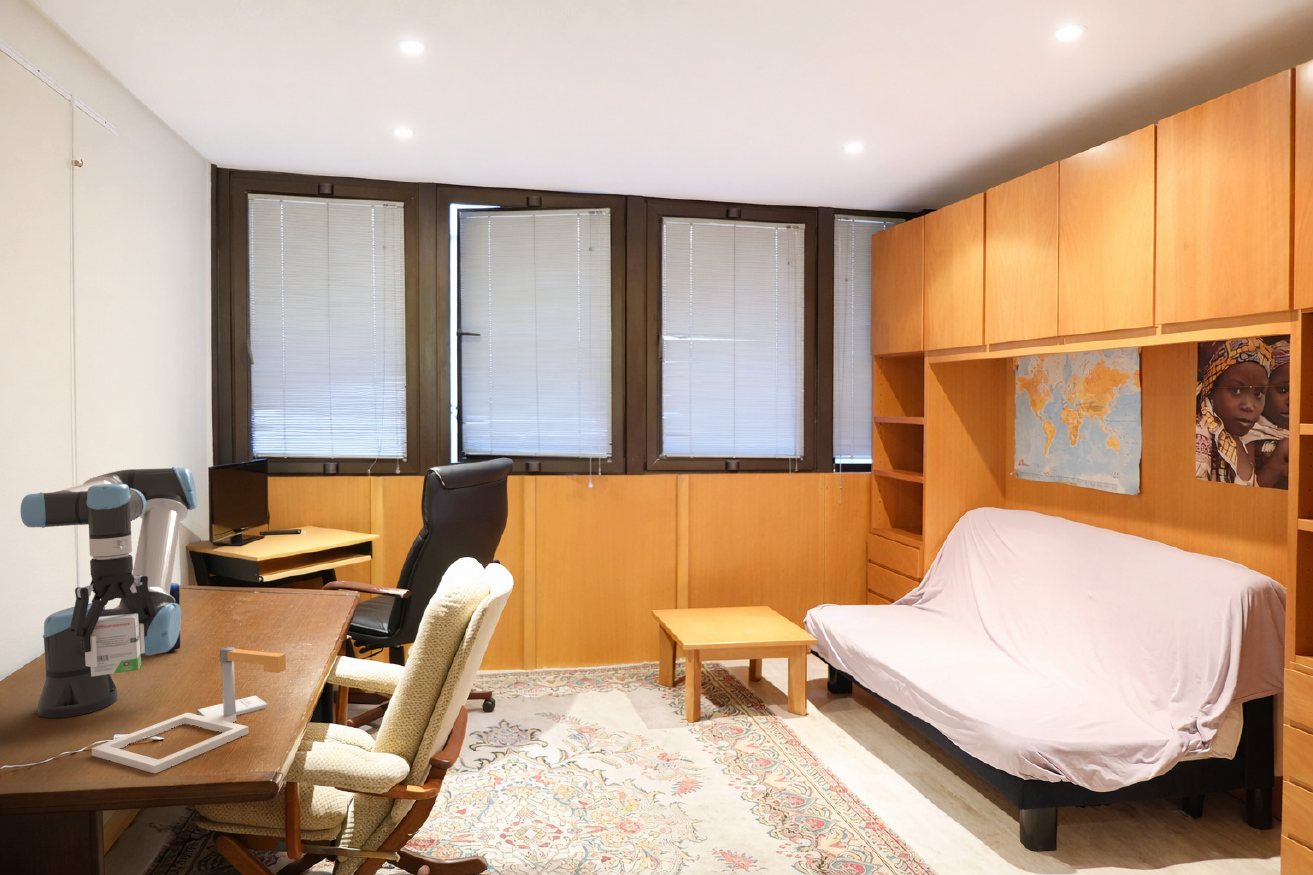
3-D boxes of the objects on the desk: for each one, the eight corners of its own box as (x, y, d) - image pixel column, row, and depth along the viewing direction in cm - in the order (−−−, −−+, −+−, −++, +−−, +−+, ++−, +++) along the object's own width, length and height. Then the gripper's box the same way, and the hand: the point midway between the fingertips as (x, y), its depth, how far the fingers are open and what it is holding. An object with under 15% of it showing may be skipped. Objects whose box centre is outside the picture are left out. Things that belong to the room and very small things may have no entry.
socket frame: (92, 755, 159) (89, 689, 158) (205, 712, 181) (202, 654, 180) (155, 773, 150) (152, 703, 150) (265, 725, 172) (263, 664, 172)
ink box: (142, 664, 175) (140, 611, 174) (138, 670, 170) (135, 616, 170) (95, 670, 171) (93, 616, 171) (89, 677, 167) (87, 621, 166)
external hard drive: (197, 715, 180) (255, 700, 189) (207, 725, 174) (267, 709, 183) (196, 708, 180) (255, 694, 189) (207, 718, 174) (267, 702, 183)
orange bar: (277, 673, 169) (276, 656, 169) (216, 667, 174) (216, 650, 174) (287, 669, 172) (286, 652, 171) (228, 662, 177) (227, 646, 176)
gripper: (65, 566, 158) (70, 677, 159) (172, 548, 178) (176, 646, 179) (44, 564, 161) (49, 672, 162) (151, 546, 181) (155, 643, 182)
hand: (115, 659), depth 170 cm, fingers closed on ink box, 9 cm apart
